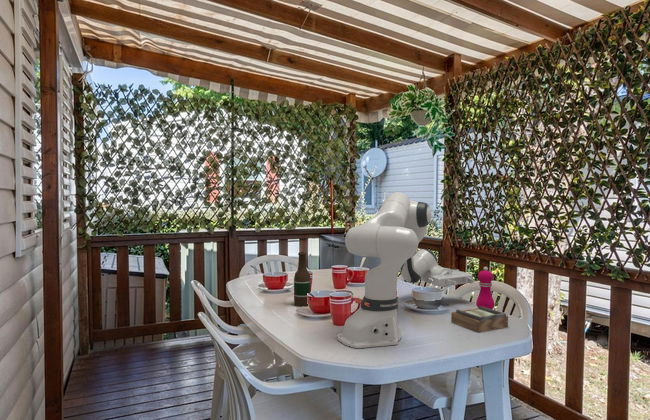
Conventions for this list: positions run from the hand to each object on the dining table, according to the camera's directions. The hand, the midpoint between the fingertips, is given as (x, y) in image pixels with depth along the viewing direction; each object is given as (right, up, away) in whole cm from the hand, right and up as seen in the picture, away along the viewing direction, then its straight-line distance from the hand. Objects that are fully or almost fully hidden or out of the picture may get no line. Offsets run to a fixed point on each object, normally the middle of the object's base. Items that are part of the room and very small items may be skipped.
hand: (464, 282), depth 194 cm
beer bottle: (-72, -11, +7) cm, 73 cm away
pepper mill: (+5, -12, -10) cm, 17 cm away
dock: (-2, -12, -25) cm, 28 cm away
